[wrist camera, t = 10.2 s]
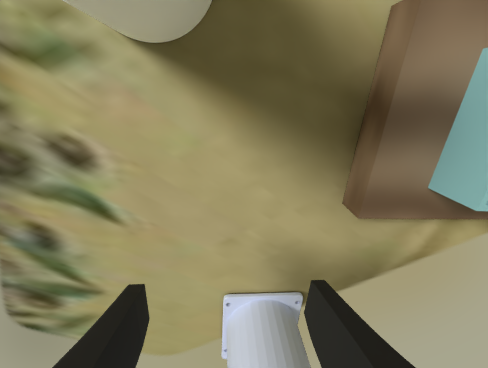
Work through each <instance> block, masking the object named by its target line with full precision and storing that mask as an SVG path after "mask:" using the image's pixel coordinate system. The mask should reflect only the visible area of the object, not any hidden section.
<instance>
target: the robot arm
mask: <svg viewBox="0 0 488 368" xmlns="http://www.w3.org/2000/svg"><path fill="white" fill-rule="evenodd" d="M302 301H303V296H302V294H301V293H299V292H291V293H257V294H228V295H225V296H224V300H223V330H222V358H223V359H227V368H311V367H310V364H309V361H308V357H307V354H306V351H305V348H304V345H303V342H302V338H301V336H300V332H299V329H298V326H297V324H298V320H299V315H300V310H301V306H302ZM304 314H305V318H306V322H307V326H308V330H309V333H310V337H311V340H312V343H313V346H314V348H315V351H316V354H317V356H318V359H319V361H320V364H321V367H322V368H415V367H414V366H413V365H412V364H410V363H409V362H408V361H407V360H406V359H404V357H402V356H401V355H400V354H399V353H398V352H397V351H396V350H394V349H393V348H392V347H391V346H390V345H389V344H388V343H387V342H386V341H385V340H384V339H382V338H381V337H380V336H379V335H378V334H377V333H376V332H375V331H374V330H373V329H372V328H371V327H370V326H369V325H368V324H367V323H366V322H365V321H364V320H362V319H361V317H360V316H359V315H358V314H357V313H356V312H354V310H353V309H352V308H351V307H350V306H349V305H348V304H347V303H346V302H345V301H344V300H343V299H342V298H341V297H340V296H339V295H338V294H337V293H336V292H335V290H334V289H333V288H332V287H331V286H330V285H329V284H328V283H327V282H326V281H325V280H311V284H310V289H309V293H308V298H307V302H306V306H305V311H304ZM148 323H149V312H148V305H147V298H146V291H145V284H132V285H128V286H127V287H126V288H125V289H124V291H123V292H122V293H121V294H120V295H119V296H118V298H117V299H116V300H115V301H114V302H113V303H112V305H111V306H110V307H109V308H108V309H107V310H106V311H105V313H104V314H103V315H102V316H101V317H100V318H99V319H98V320H97V321H96V323H95V324H94V325H93V326H92V327H91V328H90V329H89V330H88V331H87V332H86V334H85V335H84V336H83V337H82V338H81V339H80V340H79V341H78V342H77V343H76V344H75V345H74V346H73V347H72V348H71V349H70V350H69V351H68V352H67V353H66V354H65V355H64V356H63V357H62V358H61V359H60V360H59V362H58V363H56V365H54V367H52V368H135V367H136V365H137V362H138V359H139V356H140V353H141V350H142V347H143V343H144V339H145V335H146V331H147V327H148Z"/></svg>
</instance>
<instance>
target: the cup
mask: <svg viewBox="0 0 488 368" xmlns="http://www.w3.org/2000/svg"><path fill="white" fill-rule="evenodd" d="M63 1H64V2H66V3H68V4H70V5H71V6H73V7H75V8H77V9H79V10H80V11H82V12H84V13H86V14H87V15H89V16H91V17H93V18H95V19H96V20H98V21H100V22H102V23H103V24H105V25H107V26H109V27H110V28H112V29H114V30H116V31H118V32H119V33H121V34H123V35H125V36H127V37H130V38H132V39H135V40H139V41H143V42H149V43H162V42H168V41H172V40H175V39H177V38H180V37H182V36H183V35H185V34H187V33H188V32H190V31H191V30H192V29H193V28H194V27H195V26H196V25H197V24H198V23H199V22H200V21H201V20H202V18H203V17H204V15H205V14H206V12H207V10H208V8H209V6H210V4H211V2H212V0H63Z"/></svg>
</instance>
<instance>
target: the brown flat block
mask: <svg viewBox="0 0 488 368" xmlns="http://www.w3.org/2000/svg"><path fill="white" fill-rule="evenodd" d="M483 48H488V0H403V1H401V2H399V3H397V4H395V5H393V6H391V10H390V14H389V18H388V22H387V26H386V30H385V34H384V38H383V42H382V46H381V50H380V54H379V58H378V62H377V66H376V70H375V74H374V78H373V82H372V86H371V91H370V95H369V99H368V103H367V107H366V111H365V115H364V119H363V123H362V127H361V131H360V135H359V139H358V143H357V147H356V151H355V155H354V159H353V163H352V167H351V171H350V175H349V179H348V183H347V187H346V191H345V195H344V199H343V203H342V204H344V205H345V206H346V207H347V208H348V209H349V210H350V211H351V212H352V213H353V214H354V215H355V216H356V217H357V218H375V219H488V211H475V210H473V209H471V208H469V207H467V206H465V205H463V204H460V203H458V202H456V201H454V200H452V199H450V198H448V197H446V196H444V195H442V194H439V193H437V192H435V191H433V190H431V189H429V188H428V186H429V184H430V181H431V178H432V176H433V173H434V171H435V168H436V166H437V163H438V161H439V158H440V156H441V153H442V151H443V148H444V146H445V143H446V141H447V138H448V136H449V133H450V131H451V128H452V126H453V123H454V121H455V118H456V116H457V113H458V111H459V108H460V106H461V103H462V101H463V98H464V96H465V93H466V90H467V88H468V85H469V83H470V80H471V78H472V75H473V73H474V70H475V68H476V65H477V63H478V60H479V58H480V55H481V53H482V50H483Z"/></svg>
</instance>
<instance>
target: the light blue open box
mask: <svg viewBox="0 0 488 368" xmlns="http://www.w3.org/2000/svg"><path fill="white" fill-rule="evenodd" d="M428 188H429V189H431V190H433V191H435V192H437V193H439V194H442V195H444V196H446V197H448V198H450V199H452V200H454V201H456V202H458V203H460V204H463V205H465V206H467V207H469V208H471V209H473V210H475V211H488V48H483V50H482V53H481V55H480V58H479V60H478V63H477V65H476V68H475V70H474V73H473V75H472V78H471V80H470V83H469V85H468V88H467V90H466V93H465V96H464V98H463V101H462V103H461V106H460V108H459V111H458V113H457V116H456V118H455V121H454V123H453V126H452V128H451V131H450V133H449V136H448V138H447V141H446V143H445V146H444V148H443V151H442V153H441V156H440V158H439V161H438V163H437V166H436V168H435V171H434V173H433V176H432V178H431V181H430V184H429V186H428Z"/></svg>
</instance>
